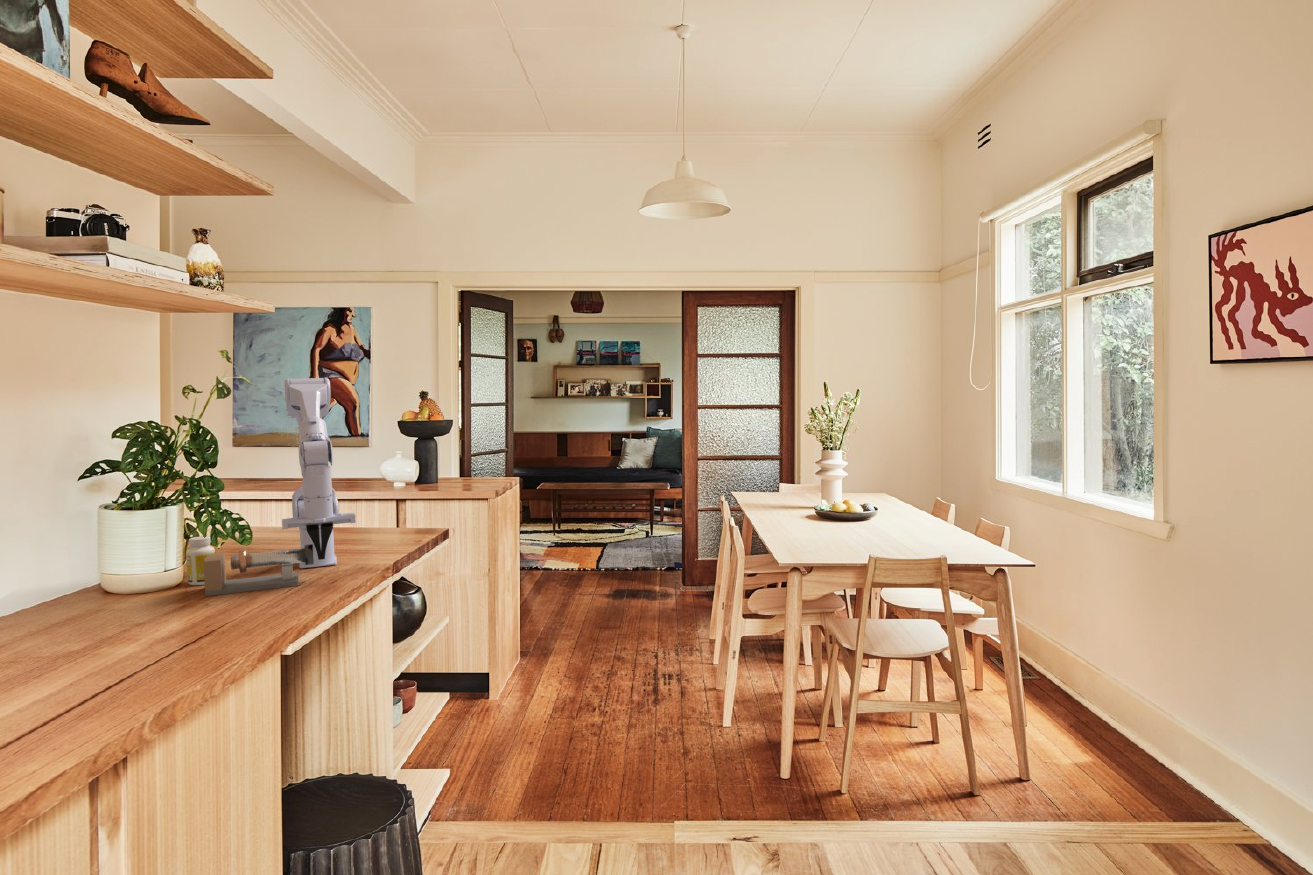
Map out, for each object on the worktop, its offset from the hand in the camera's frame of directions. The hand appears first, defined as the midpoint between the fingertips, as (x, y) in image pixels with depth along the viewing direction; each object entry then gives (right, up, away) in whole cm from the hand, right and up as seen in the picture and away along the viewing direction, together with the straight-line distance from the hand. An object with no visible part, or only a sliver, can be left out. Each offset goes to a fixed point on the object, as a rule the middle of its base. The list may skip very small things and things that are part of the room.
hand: (321, 558), depth 171 cm
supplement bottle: (-25, -5, -1) cm, 26 cm away
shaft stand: (-12, -5, -5) cm, 14 cm away
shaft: (-9, -2, -4) cm, 10 cm away
